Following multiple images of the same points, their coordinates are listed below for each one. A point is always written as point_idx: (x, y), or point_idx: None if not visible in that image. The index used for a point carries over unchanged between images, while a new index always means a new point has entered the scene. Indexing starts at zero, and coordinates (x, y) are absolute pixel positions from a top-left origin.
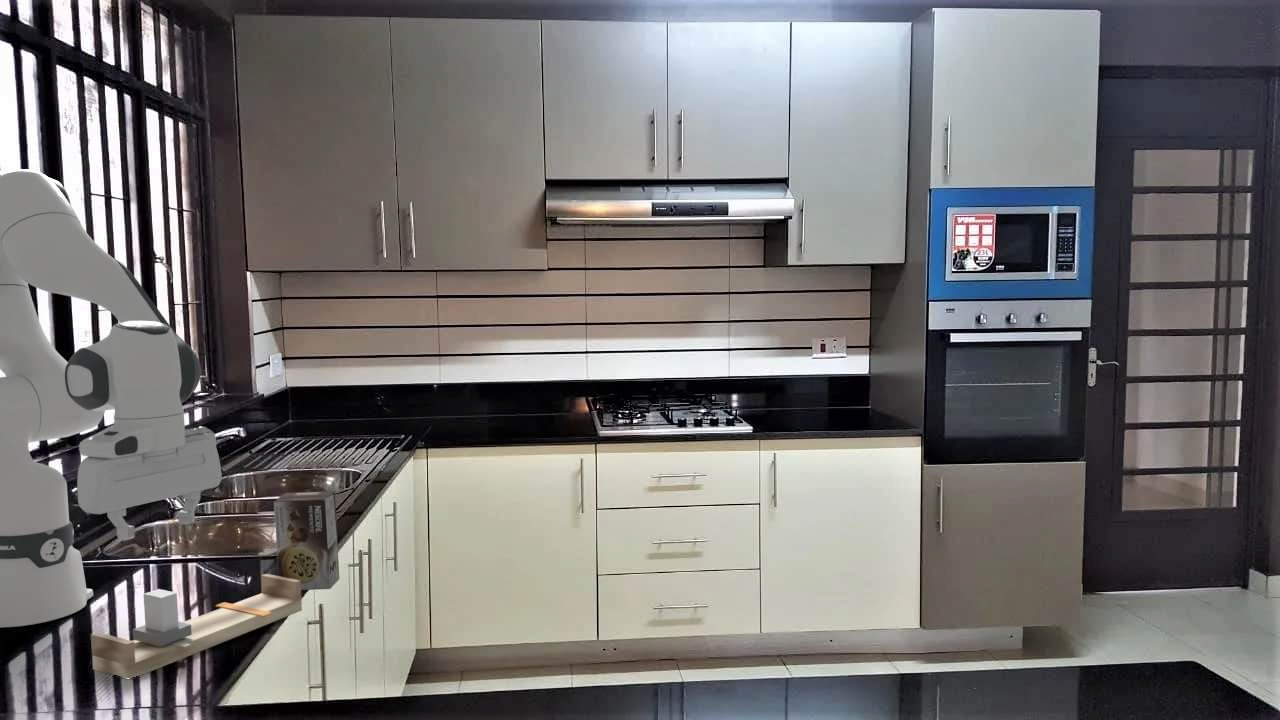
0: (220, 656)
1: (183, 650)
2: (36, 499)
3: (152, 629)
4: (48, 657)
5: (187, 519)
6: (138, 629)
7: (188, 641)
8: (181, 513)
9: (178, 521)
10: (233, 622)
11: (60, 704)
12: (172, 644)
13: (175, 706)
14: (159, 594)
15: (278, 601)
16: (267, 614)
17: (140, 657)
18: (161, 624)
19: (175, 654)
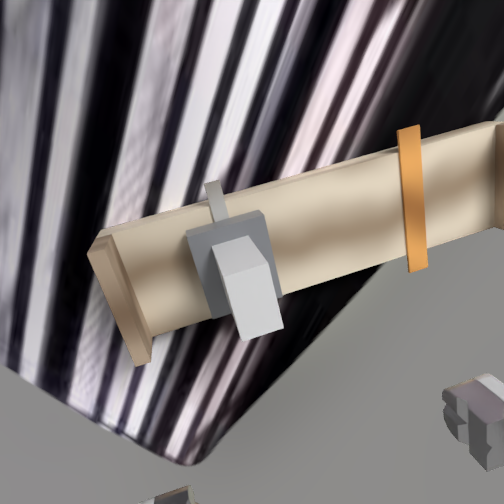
0: (287, 327)
1: None
2: None
3: (217, 268)
4: (31, 70)
5: (466, 442)
6: (196, 246)
7: None
8: (483, 439)
9: (449, 389)
10: (363, 258)
11: (16, 352)
12: None
13: (162, 456)
14: (249, 312)
15: (475, 206)
16: (417, 270)
17: (168, 317)
18: (228, 302)
19: None
